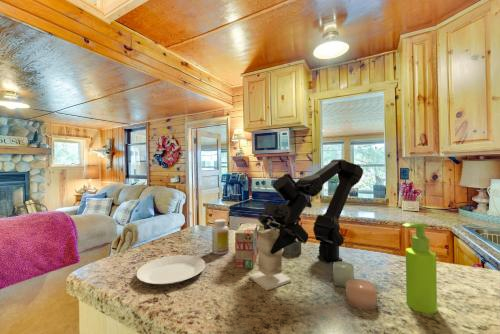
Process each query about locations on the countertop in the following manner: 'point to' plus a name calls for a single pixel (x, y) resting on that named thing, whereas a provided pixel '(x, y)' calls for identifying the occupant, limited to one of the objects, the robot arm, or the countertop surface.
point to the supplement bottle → (220, 237)
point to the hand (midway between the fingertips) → (266, 250)
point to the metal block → (268, 253)
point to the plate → (171, 269)
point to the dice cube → (293, 248)
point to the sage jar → (342, 273)
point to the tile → (269, 280)
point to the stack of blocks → (246, 245)
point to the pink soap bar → (361, 294)
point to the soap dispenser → (421, 272)
